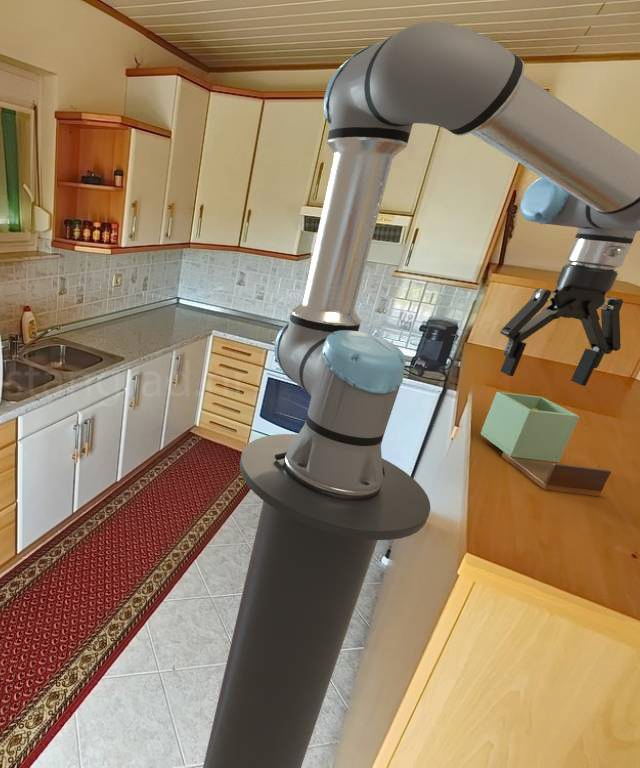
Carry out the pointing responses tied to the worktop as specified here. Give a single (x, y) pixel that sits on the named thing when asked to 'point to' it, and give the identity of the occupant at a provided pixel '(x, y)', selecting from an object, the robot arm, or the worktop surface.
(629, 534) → the worktop surface
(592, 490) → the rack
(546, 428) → the container
